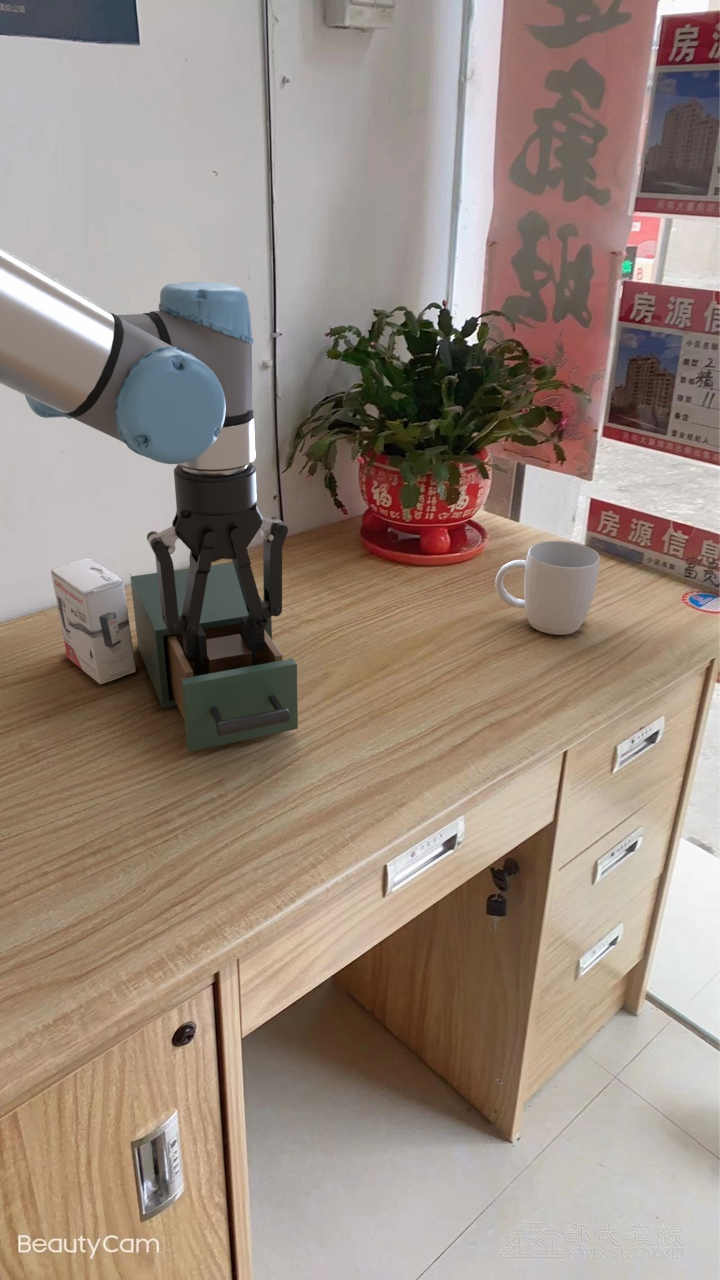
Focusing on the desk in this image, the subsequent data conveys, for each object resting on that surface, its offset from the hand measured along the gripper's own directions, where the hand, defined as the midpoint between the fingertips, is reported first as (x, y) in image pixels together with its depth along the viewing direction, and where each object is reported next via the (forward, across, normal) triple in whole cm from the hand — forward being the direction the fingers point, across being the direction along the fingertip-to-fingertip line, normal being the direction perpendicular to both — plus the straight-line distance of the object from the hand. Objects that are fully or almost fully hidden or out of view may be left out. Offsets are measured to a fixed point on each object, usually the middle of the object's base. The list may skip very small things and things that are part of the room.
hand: (226, 680), depth 92 cm
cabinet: (+5, 0, -12) cm, 12 cm away
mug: (+5, -44, -8) cm, 45 cm away
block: (0, 0, 0) cm, 0 cm away
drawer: (+4, 0, +1) cm, 4 cm away
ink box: (+5, +11, -16) cm, 20 cm away
